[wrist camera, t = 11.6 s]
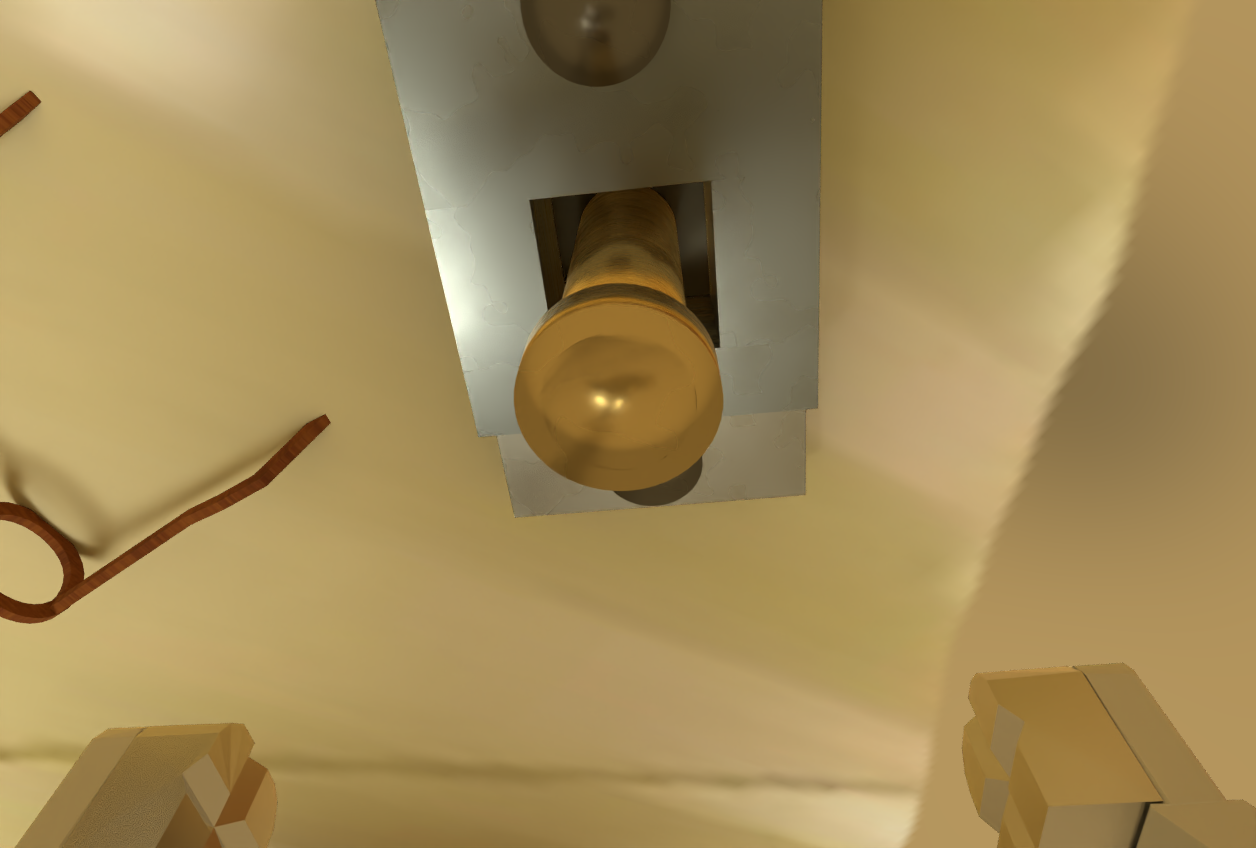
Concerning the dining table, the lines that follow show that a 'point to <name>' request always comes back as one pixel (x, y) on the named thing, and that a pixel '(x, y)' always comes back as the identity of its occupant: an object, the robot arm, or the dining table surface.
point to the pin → (620, 356)
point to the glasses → (72, 563)
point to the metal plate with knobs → (619, 160)
